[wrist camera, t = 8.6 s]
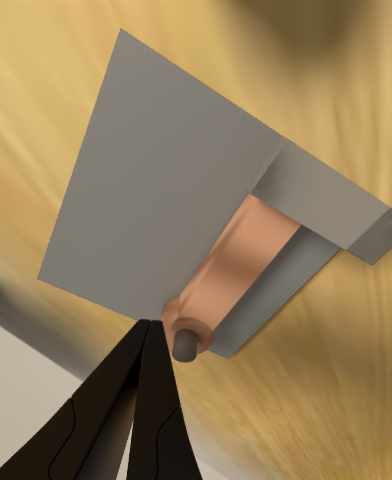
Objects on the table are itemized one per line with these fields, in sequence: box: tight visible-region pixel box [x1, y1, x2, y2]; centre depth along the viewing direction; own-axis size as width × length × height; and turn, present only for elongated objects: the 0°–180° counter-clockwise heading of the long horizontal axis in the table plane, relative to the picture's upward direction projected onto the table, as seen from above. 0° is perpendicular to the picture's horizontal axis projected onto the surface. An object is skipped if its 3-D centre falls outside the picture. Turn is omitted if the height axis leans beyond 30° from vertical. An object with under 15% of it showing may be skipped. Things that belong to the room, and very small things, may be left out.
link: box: [161, 193, 302, 362], centre depth 18 cm, size 18×4×4 cm, turn 152°
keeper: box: [247, 136, 392, 265], centre depth 15 cm, size 3×8×4 cm, turn 60°
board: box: [37, 29, 341, 359], centre depth 20 cm, size 19×19×1 cm
